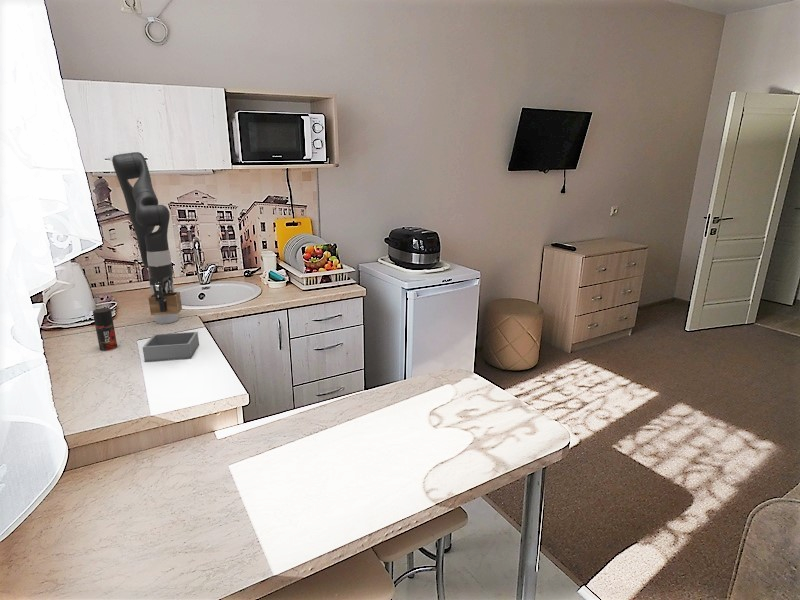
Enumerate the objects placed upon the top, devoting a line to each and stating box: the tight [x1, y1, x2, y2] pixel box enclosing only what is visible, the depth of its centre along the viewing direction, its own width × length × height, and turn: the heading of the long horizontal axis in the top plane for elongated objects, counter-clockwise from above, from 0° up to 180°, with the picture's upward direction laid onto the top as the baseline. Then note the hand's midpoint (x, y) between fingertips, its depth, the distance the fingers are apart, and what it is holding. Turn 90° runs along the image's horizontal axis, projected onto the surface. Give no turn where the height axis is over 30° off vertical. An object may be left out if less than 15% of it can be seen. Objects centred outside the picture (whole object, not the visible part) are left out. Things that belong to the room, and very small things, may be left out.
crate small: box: [148, 291, 183, 316], centre depth 179 cm, size 6×9×6 cm, turn 100°
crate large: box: [142, 331, 200, 363], centre depth 184 cm, size 14×16×6 cm
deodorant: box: [92, 307, 118, 352], centre depth 189 cm, size 6×6×15 cm
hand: (166, 308), depth 180 cm, fingers closed on crate small, 6 cm apart
